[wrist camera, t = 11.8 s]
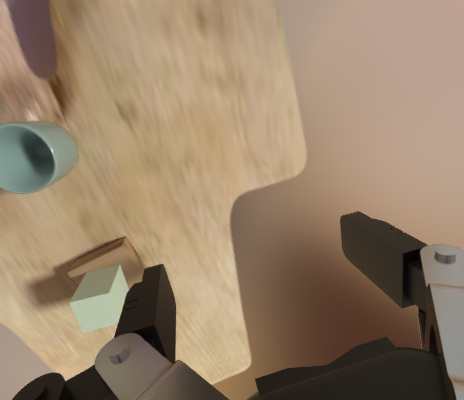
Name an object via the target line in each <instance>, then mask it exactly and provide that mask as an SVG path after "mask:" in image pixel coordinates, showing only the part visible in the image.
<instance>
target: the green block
mask: <svg viewBox="0 0 464 400" xmlns="http://www.w3.org/2000/svg"><path fill="white" fill-rule="evenodd" d="M128 291H129V289H128V286H127V283H126V280H125V277H124V274H123V272H122V269H121V266H120V265H116V266H112V267H107V268H103V269H99V270H95V271H90V272H86V274H85V276H84V277H83V279H82V281H81V283H80V285H79V286H78V288H77V290H76V292H75V293H74V295H73V297H72V299H71V300H70V302H69V303H70V306H71V308H72V310H73V312H74V315H75V317H76V319H77V321H78V323H79V326H80V328H81V330H82V332H83V333H84V332H88V331H92V330H96V329H100V328H103V327H107V326H111V325H115V324H118V322H119V319H120V315H121V312H122V308H123V304H124V301H125V297H126V294H127V292H128Z"/></svg>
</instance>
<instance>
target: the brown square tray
mask: <svg viewBox="0 0 464 400" xmlns="http://www.w3.org/2000/svg"><path fill="white" fill-rule="evenodd" d="M116 265H120V266H121V269H122V272H123V274H124V277H125V280H126V283H127V286H128V289H129V290H130V288H131V287H132V286H133V284H135V283H138V282H142V277H143V273H144V269H145V268H147V267H146V265H145V264H144V262H143V261H142V259H141V258H140V256H139V255H138V253H137V252H136V250H135V249H134V247H133V246H132V244H131V243H130V241H129V240H128V238H127V237H126V236H125V237H123V238H121V239H119V240H117V241H115V242H113V243H110V244H108V245H106V246H104V247H102V248H100V249H98V250H96V251H94V252H92V253H90V254H88V255H86V256H84V257H82V258H80V259H77V260H75V262H74V263H73V264H72V266H71V267H70V269H69V270H68V272H67V274H68V275H69V277H70V278H71V279H72V280H73V282H74V283H75V284H76V285H77V286H79V285H80V283H81V281H82V279H83V277H84V276H85V274H86V272H90V271H95V270H99V269H103V268H107V267H112V266H116Z"/></svg>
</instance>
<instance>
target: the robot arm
mask: <svg viewBox="0 0 464 400" xmlns="http://www.w3.org/2000/svg"><path fill="white" fill-rule="evenodd" d="M340 223H341V224H340V225H341V237H342V238H341V239H342V249H343V252H344V254H345V256H346V258H347V259H348V260H349V261H350V262H351V263H352V264H353V265H354V266H356V267H357V268H358V269H359V270H360V271H361V272H362V273H363V274H364V275H366V276H367V277H368V278H369V279H370V280H371V281H372V282H373V283H374V284H376V285H377V286H378V287H379V288H380V289H381V290H382V291H383V292H385V293H386V294H387V295H388V296H389V297H390V298H391V299H392V300H393V301H395V303H397V304H398V305H399V306H400V307H401V308H405V307H408V306H411V305H417V306H418V320H419V328H420V336H421V344H422V349H417V348H409V347H395V346H394V345H393V344H392V342H391V341H390V340H389V339H388V338H387V337H383V338H380V339H377V340H374V341H371V342H368V343H365V344H362V345H359V346H355V347H354V348H352V349H351V350H349V351H348V352H346V353H345V354H344V355H342V356H340V357H339V358H337V359H336V360H335V361H333V362H332V363H330V364H328V365H325V366H312V367H298V368H287V369H284V370H281V371H278V372H275V373H272V374H269V375H266V376H262V377H260V378H256V379H255V380H256V385H257V389H258V392H256V393H255V394H253V395H252V396H251V397H249V398H248V399H247V400H464V250H463V249H460V248H458V247H455V246H451V245H444V244H435V245H434V244H433V245H426V244H425V243H423V242H421V241H419V240H418V239H416V238H414V237H412V236H410V235H408V234H407V233H403V231H401V230H399V229H398V228H395V227H394V226H392V225H390V224H389V223H387V222H384V221H381V220H377V219H372V218H370V217H368V216H367V215H365V214H363V213H361V212H359V211H358V212H354V213H350V214H346V215H343V216H341V219H340ZM175 346H176V303H175V298H174V294H173V291H172V288H171V285H170V282H169V279H168V276H167V273H166V270H165V267H164V265H163V264H159V265H156V266H152V267H148V268H145V269H144V273H143V277H142V282H138V283H135V284H133V286H132V287H131V288H130V290H129V291H128V292H127V294H126V297H125V301H124V304H123V308H122V312H121V315H120V319H119V322H118V326H117V329H116V333H115V336H114V339H112V340H111V341H109V342H108V343H107V344H106V345H105V346H104V347H103V348H102V349H101V350H100V351H99V353H98V354H97V357H96V359H95V365H93V366H92V367H90V368H89V369H87V370H85V371H83V372H81V373H80V374H78V375H76V376H74V377H72V378H71V379H69V380H67V381H65V379H64V378H63V376H62V375H61V374H59V373H48V374H45V375H43V376H40V377H38V378H36V379H35V380H33V381H31V382H30V383H29V384H27V385H26V386H25V387H24V388H22V389H21V390H20V391H19V392H18V393H17V394H16V396H15V397H14V398H13V399H12V400H229V399H228V398H227V397H225V396H224V395H223V394H222V393H220V392H219V391H218V390H217V389H216V388H214V387H213V386H212V385H211V384H209V383H208V382H207V381H206V380H205V379H203V378H202V377H201V376H200V375H198V374H197V373H196V372H195V371H194V370H192V369H191V368H190V367H189V366H187V365H186V364H185V363H184V362H182V361H180V360H177V361H176V362H175Z"/></svg>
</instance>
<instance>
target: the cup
mask: <svg viewBox="0 0 464 400" xmlns="http://www.w3.org/2000/svg"><path fill="white" fill-rule="evenodd" d="M78 157H79V154H78V147H77V144H76V142H75V140H74V139H73V137H72V136H71V135H70V133H69V132H68V131H67V130H65V129H64V128H63V127H61V126H59V125H57V124H54V123H51V122H45V121H21V122H10V123H5V124H1V125H0V188H1V189H3V190H5V191H7V192H11V193H15V194H28V193H34V192H38V191H40V190H43V189H45V188H47V187H49V186H51V185H52V184H54V183H56V182H57V181H59V180H60V179H62V178H63V177H65V176H66V175H67V174H68V173H70V171H71V170H72V169H73V168H74V167H75V165H76V163H77V161H78Z"/></svg>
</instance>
